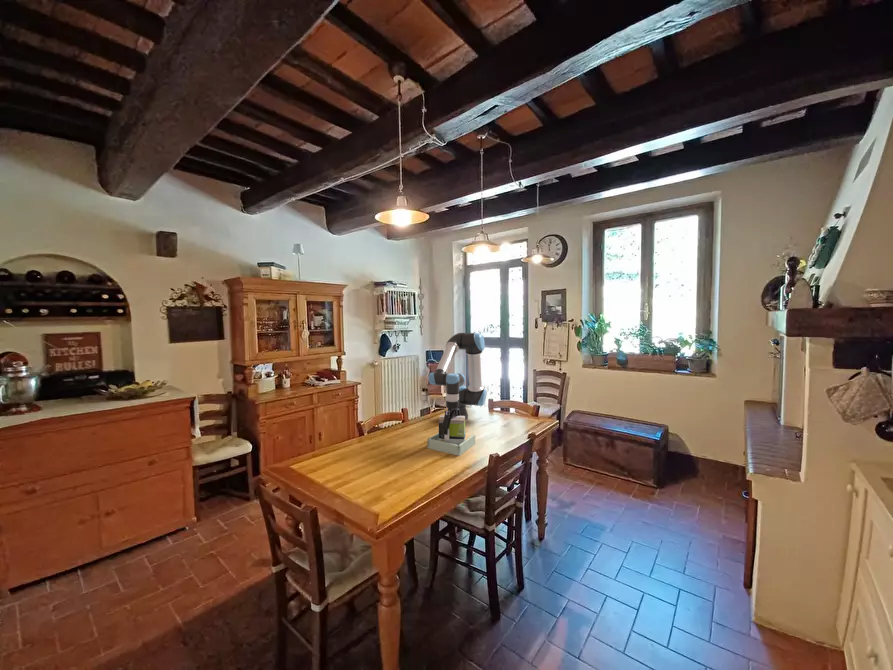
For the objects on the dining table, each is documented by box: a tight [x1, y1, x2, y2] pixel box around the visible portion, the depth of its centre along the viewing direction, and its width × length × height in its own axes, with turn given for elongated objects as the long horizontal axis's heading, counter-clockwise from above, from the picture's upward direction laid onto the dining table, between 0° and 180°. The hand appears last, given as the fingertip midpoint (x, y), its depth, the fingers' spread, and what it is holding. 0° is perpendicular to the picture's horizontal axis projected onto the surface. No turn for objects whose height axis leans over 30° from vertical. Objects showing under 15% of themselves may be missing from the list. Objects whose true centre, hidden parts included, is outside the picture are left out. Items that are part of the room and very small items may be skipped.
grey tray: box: [427, 432, 476, 457], centre depth 214 cm, size 20×21×6 cm
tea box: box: [438, 414, 466, 445], centre depth 214 cm, size 15×10×15 cm, turn 83°
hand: (452, 436), depth 215 cm, fingers closed on tea box, 12 cm apart
